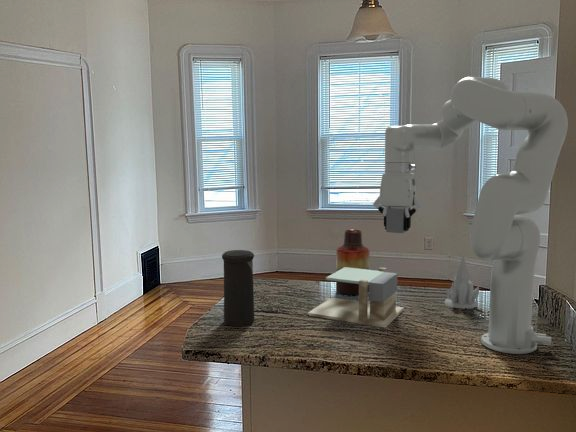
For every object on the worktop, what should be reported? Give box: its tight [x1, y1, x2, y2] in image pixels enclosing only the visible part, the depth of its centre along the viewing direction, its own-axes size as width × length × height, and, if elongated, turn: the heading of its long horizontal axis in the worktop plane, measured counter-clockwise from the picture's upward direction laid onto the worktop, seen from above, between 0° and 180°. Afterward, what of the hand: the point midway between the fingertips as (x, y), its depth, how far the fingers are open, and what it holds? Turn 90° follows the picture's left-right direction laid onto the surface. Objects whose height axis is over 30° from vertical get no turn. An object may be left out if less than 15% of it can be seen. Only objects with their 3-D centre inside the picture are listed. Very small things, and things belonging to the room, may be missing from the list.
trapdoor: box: [325, 267, 398, 302], centre depth 158 cm, size 16×14×5 cm
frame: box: [307, 267, 405, 328], centre depth 160 cm, size 23×18×12 cm
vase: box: [335, 229, 371, 297], centre depth 181 cm, size 11×11×20 cm
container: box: [221, 249, 255, 327], centre depth 152 cm, size 9×9×20 cm
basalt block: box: [385, 207, 409, 234], centre depth 165 cm, size 5×5×7 cm
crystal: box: [444, 256, 480, 310], centre depth 168 cm, size 10×13×15 cm
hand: (397, 229), depth 165 cm, fingers closed on basalt block, 5 cm apart
